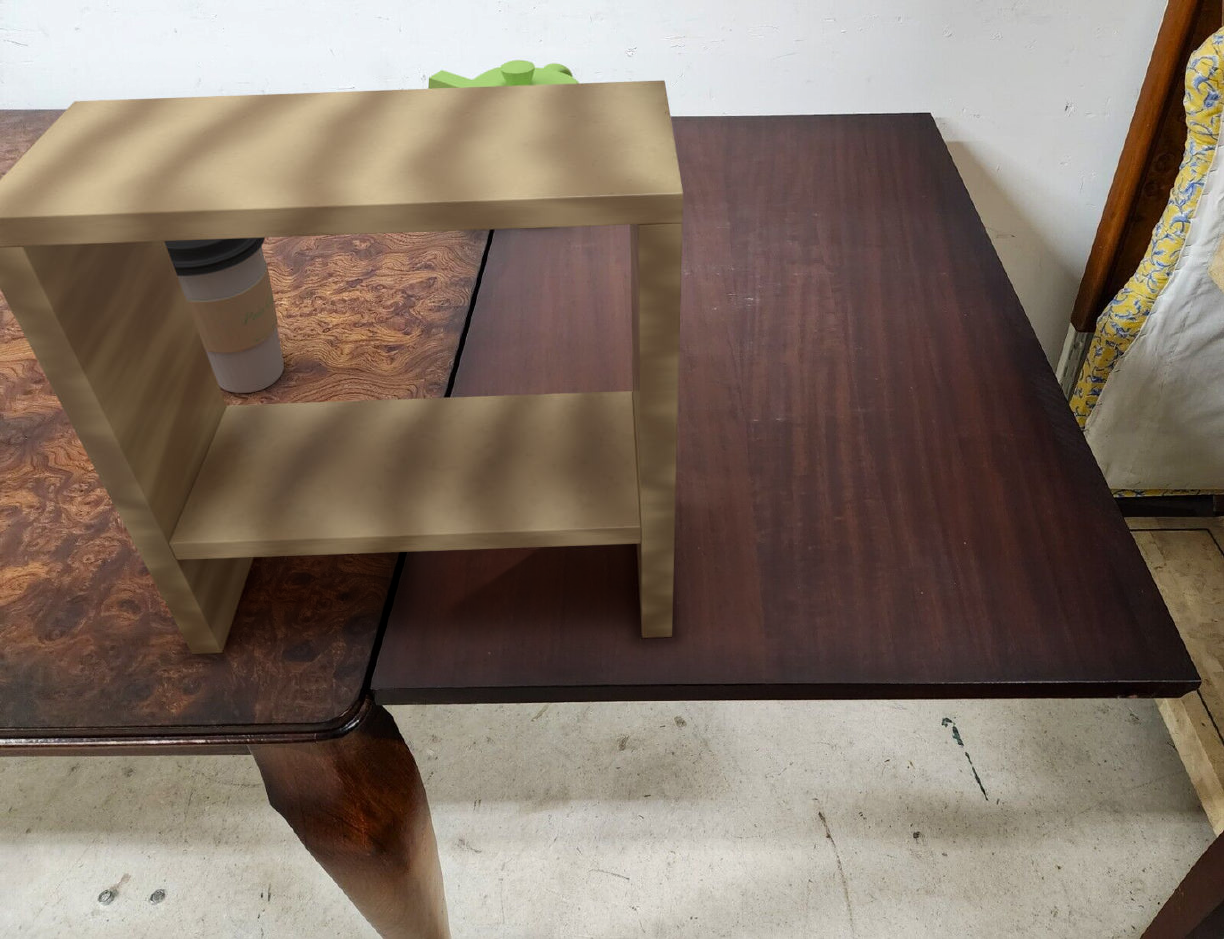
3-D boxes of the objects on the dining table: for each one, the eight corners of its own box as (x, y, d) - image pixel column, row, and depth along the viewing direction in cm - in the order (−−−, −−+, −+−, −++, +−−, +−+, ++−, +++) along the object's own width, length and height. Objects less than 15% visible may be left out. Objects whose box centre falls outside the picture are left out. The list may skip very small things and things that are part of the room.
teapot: (583, 146, 120) (577, 24, 110) (632, 222, 106) (631, 89, 96) (432, 170, 117) (412, 46, 107) (462, 251, 102) (442, 117, 93)
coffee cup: (305, 395, 85) (258, 241, 75) (193, 415, 84) (129, 261, 73) (301, 335, 92) (258, 187, 82) (197, 353, 90) (140, 204, 80)
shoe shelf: (660, 500, 75) (664, 79, 53) (672, 637, 65) (683, 192, 43) (241, 515, 75) (74, 100, 53) (192, 654, 65) (-38, 218, 43)
